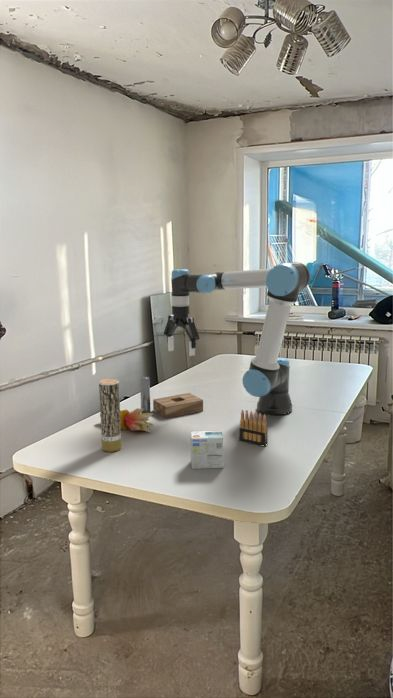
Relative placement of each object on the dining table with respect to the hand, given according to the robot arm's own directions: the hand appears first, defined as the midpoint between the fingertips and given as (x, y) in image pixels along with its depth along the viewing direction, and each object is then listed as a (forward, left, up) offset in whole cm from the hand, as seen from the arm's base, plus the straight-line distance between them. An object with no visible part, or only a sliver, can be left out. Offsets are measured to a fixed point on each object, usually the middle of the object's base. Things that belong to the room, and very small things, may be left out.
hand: (181, 353), depth 233 cm
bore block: (-8, +6, -23) cm, 25 cm away
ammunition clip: (-54, 0, -23) cm, 59 cm away
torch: (-15, +34, -24) cm, 44 cm away
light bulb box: (-61, +24, -24) cm, 70 cm away
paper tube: (-32, +46, -23) cm, 61 cm away
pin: (-5, +20, -23) cm, 31 cm away
